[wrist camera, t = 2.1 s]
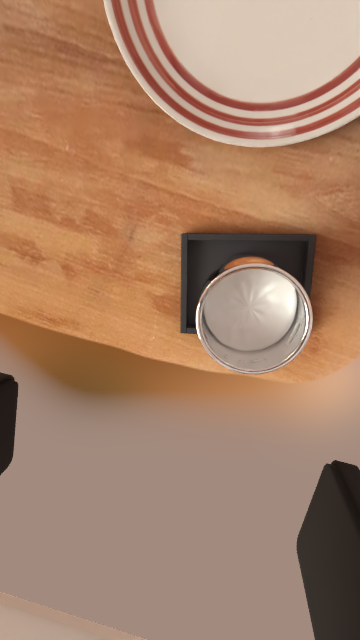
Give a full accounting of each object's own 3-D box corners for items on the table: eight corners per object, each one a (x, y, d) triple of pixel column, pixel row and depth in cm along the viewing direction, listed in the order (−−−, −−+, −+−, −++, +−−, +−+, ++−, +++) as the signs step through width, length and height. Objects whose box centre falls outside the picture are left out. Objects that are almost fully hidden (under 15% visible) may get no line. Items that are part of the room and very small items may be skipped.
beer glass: (284, 251, 32) (327, 264, 18) (274, 321, 34) (306, 385, 20) (211, 246, 33) (196, 254, 19) (205, 315, 35) (187, 371, 20)
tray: (311, 234, 32) (316, 234, 30) (301, 334, 34) (305, 339, 32) (184, 233, 33) (181, 233, 32) (183, 328, 36) (180, 333, 34)
